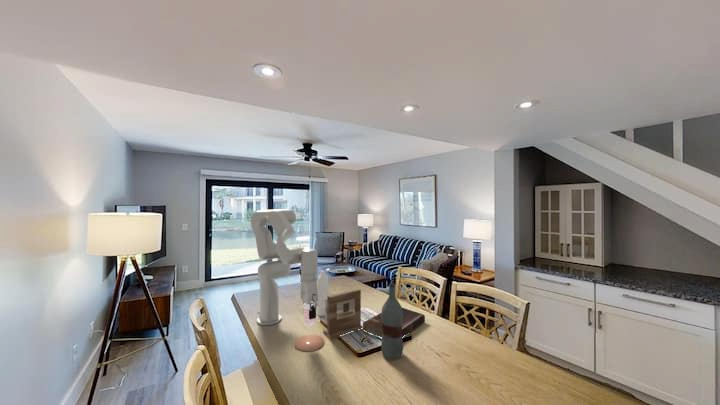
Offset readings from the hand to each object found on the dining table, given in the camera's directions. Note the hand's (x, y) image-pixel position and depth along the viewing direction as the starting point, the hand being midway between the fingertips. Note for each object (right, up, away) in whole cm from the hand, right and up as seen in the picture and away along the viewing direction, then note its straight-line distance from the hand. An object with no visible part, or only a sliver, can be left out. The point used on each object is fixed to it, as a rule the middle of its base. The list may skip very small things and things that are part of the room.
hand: (309, 315), depth 125 cm
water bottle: (+2, -13, +33) cm, 35 cm away
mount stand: (+14, -13, +12) cm, 23 cm away
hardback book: (+41, -13, +16) cm, 46 cm away
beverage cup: (0, -4, 0) cm, 4 cm away
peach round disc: (0, -13, 0) cm, 13 cm away
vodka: (+36, -13, -9) cm, 40 cm away
